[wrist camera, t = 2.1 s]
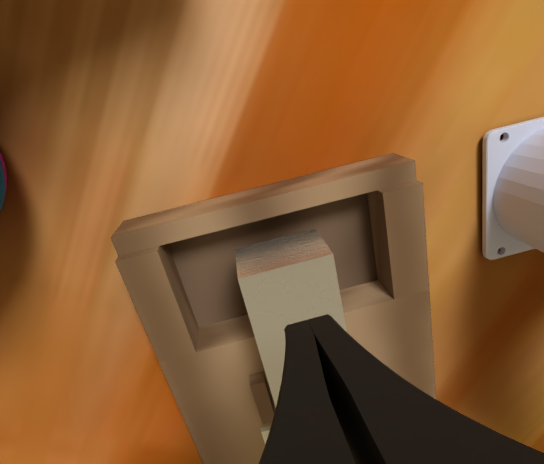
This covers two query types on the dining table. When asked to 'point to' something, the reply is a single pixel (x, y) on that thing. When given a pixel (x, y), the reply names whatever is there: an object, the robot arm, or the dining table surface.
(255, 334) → the bar
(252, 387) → the board
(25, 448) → the dining table surface
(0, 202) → the decorative egg
